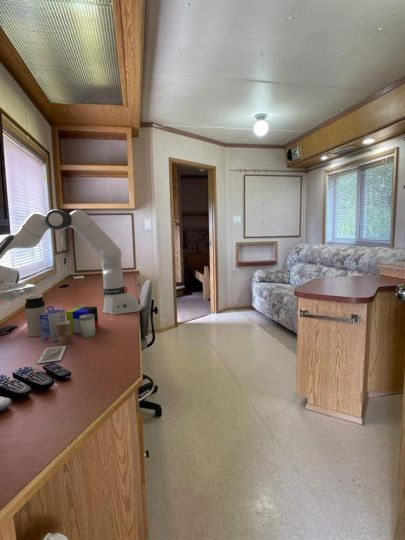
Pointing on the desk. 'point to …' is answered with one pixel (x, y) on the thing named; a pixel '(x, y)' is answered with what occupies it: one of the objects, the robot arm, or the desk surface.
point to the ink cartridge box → (51, 323)
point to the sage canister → (87, 325)
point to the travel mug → (34, 314)
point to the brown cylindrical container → (64, 333)
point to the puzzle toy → (76, 313)
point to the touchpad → (52, 354)
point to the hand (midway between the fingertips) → (21, 293)
